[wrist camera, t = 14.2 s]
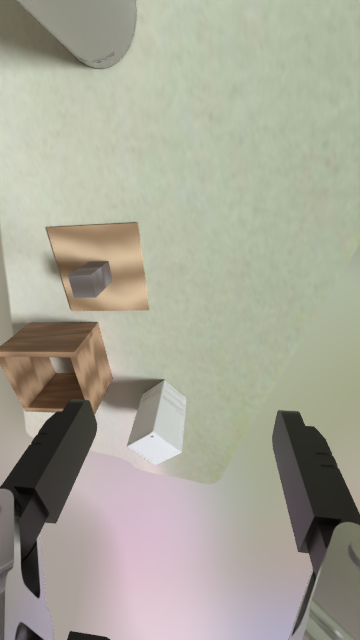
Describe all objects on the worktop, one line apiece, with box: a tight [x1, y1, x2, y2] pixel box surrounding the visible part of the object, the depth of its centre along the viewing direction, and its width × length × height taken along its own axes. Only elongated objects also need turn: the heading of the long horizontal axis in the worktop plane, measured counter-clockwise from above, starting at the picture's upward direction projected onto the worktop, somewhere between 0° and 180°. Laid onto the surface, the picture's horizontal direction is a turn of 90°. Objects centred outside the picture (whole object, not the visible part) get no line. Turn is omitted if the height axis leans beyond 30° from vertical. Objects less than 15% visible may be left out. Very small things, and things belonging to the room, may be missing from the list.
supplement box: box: [127, 380, 186, 465], centre depth 49 cm, size 7×7×13 cm
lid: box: [47, 223, 149, 311], centre depth 38 cm, size 15×15×8 cm
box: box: [0, 322, 112, 414], centre depth 47 cm, size 14×14×10 cm
